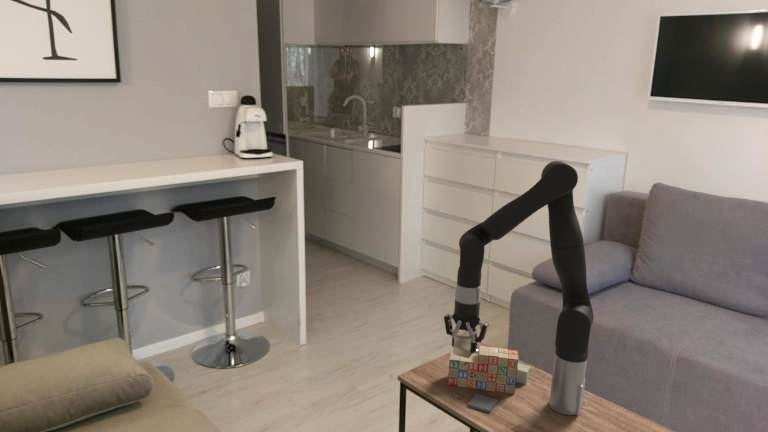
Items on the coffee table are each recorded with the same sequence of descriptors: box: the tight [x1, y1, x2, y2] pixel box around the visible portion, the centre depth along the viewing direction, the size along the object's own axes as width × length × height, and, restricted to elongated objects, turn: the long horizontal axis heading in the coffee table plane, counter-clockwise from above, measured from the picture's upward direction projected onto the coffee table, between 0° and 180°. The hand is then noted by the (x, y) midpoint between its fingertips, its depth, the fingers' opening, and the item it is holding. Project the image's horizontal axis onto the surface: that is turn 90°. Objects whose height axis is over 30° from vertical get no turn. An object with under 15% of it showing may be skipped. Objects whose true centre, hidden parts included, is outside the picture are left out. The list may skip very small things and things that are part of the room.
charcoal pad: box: [467, 393, 498, 414], centre depth 178 cm, size 7×7×1 cm
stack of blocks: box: [447, 345, 519, 395], centre depth 188 cm, size 21×6×12 cm, turn 79°
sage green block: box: [516, 362, 532, 386], centre depth 193 cm, size 4×4×4 cm
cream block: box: [452, 330, 472, 358], centre depth 179 cm, size 5×5×6 cm
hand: (463, 350), depth 180 cm, fingers closed on cream block, 5 cm apart
